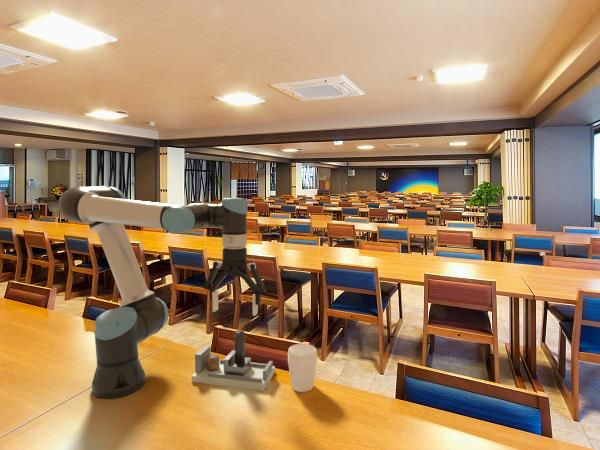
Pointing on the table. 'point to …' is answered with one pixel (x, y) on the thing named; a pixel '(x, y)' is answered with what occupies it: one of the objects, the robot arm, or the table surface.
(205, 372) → the base
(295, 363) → the cup
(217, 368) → the walnut
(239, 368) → the handle
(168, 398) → the table surface
